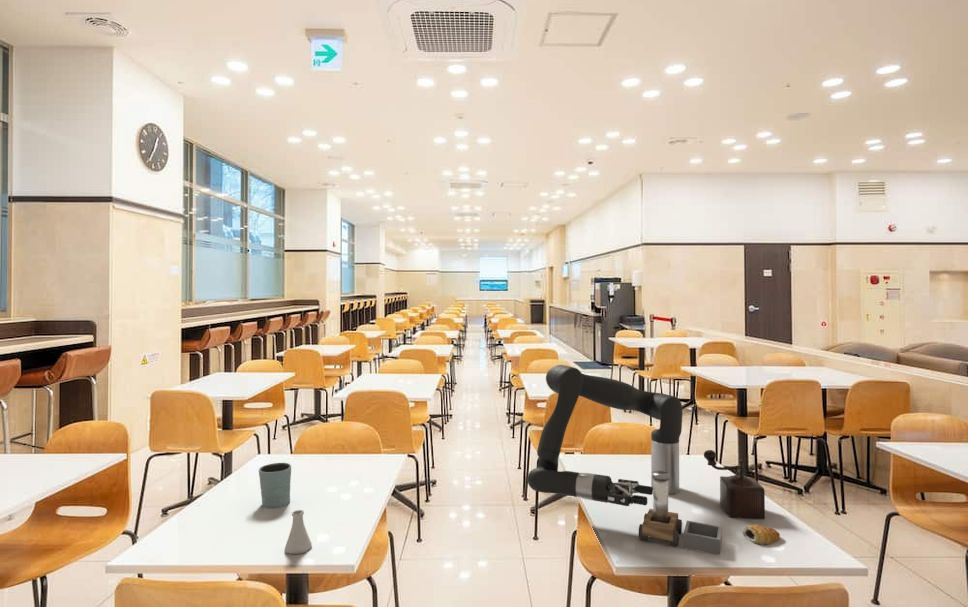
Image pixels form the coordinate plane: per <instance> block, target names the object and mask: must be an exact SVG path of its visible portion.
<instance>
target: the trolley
mask: <svg viewBox="0 0 968 607" xmlns="http://www.w3.org/2000/svg"><path fill="white" fill-rule="evenodd" d="M643 516H644V517H643V522H642V524H641V523H640V524H639V526H638V540H641V541H646V542H647V541H648V538H655V539H660V540H665V541H668V545H669V546H673V547H675V548H676V547H679V539H680V538H679V536H680V535H682V532H683V531H682V530H683V520H682V519H680V518H679V513H678V512H672V511H668V524H667V523H661V522H655V521H653V508H648V511H647V513H645V514H644V515H643Z"/></svg>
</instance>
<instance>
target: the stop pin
mask: <svg viewBox="0 0 968 607" xmlns="http://www.w3.org/2000/svg"><path fill="white" fill-rule="evenodd" d="M652 478H653V494H652V496H653V497H652V498H653V500H652V501H653V502H652V504H653V505H652V507H653V508H652V509H653V521H655V522H661V523H667V524H668V512H669V494H668V480H669V479H670V474H669V473H668V472H664V471H653V472H652Z"/></svg>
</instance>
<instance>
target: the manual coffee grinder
mask: <svg viewBox="0 0 968 607" xmlns="http://www.w3.org/2000/svg"><path fill="white" fill-rule="evenodd" d="M703 457H704V459H706V460H707V465H708V466H711V467H712V468H714V469H715V470H718V471H719V470H720V471H729V470H737V469H739V471H736V472H735V474H734V475H729V476H720V477H719V506H720V508H721V509H722V510H723V512H724V513H725V514H726V516H727V517H729V518H731V519H746V520H765V519H766V516H765V515H766V514H765V513H766V510H765V509H766V506H765V504H766V502H765V500H766V499H765V494H766V493H765V488H764V487H763V486H762V485H761V484H760V483H759V482H758V481H757V480H756V479H755V478H753V477H750V476H746V475H745V474H744V467H745V464H744V462H745V460H743V459H742V458H741V459H739V463H738V464H737V465H734V466H733V465H732V466H723V467H722V466H717V464H718V462H716V458H717V453H716V452H715V451H714V450H712V449H708V450H705V451H704V452H703Z"/></svg>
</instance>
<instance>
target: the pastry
mask: <svg viewBox="0 0 968 607" xmlns="http://www.w3.org/2000/svg"><path fill="white" fill-rule="evenodd" d="M741 534H742V536H743V537H744V538H745V539H746V540H748V541H751V542H752V543H754V544H757V545H766V544H767V545H770V544H774V543H775V542H779V540H780V537H781V535H780V533H779V532H778V530H776V529H774V528H772V527H768V526H765V525H760V524H753V525H752V524H749V525H747V526H745V528H743V530H742V533H741Z"/></svg>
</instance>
